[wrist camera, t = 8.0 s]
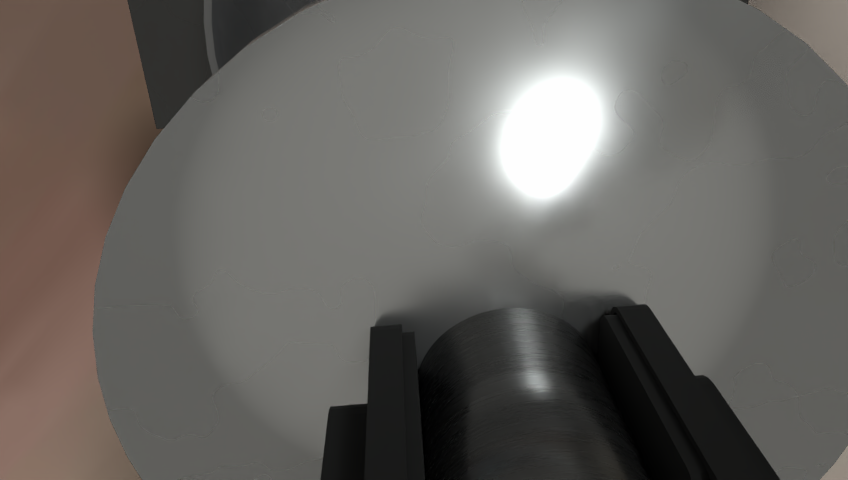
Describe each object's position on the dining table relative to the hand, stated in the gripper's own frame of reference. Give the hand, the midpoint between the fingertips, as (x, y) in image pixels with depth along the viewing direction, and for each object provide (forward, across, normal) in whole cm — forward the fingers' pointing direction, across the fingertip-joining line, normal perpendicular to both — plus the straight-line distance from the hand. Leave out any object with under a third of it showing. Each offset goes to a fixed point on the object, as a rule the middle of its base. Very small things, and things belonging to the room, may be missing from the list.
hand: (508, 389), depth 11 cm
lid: (+1, 0, 0) cm, 1 cm away
